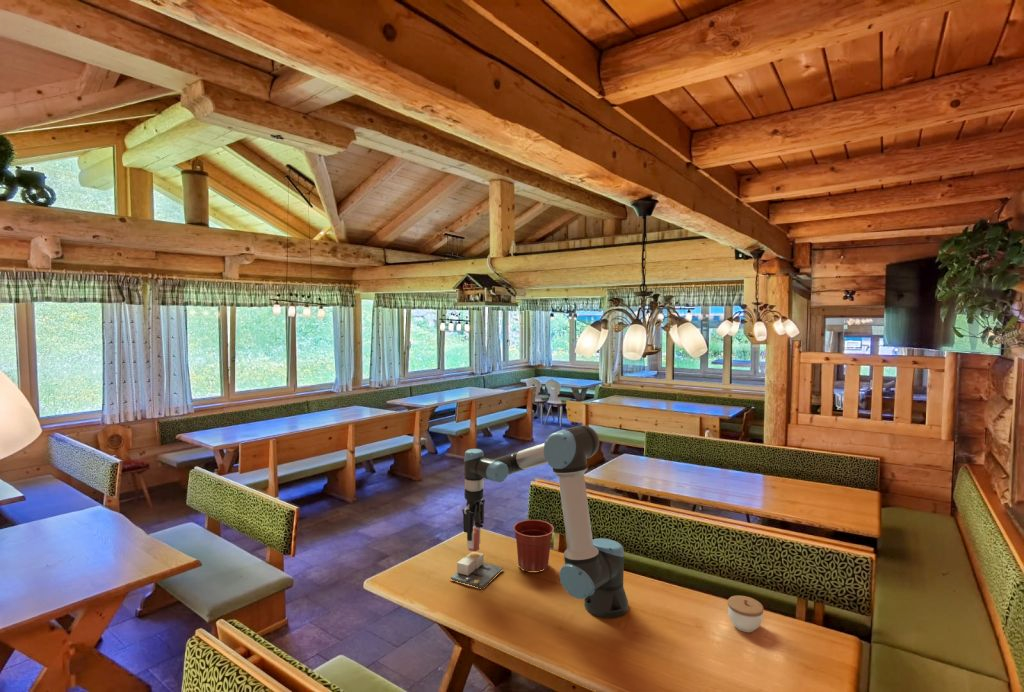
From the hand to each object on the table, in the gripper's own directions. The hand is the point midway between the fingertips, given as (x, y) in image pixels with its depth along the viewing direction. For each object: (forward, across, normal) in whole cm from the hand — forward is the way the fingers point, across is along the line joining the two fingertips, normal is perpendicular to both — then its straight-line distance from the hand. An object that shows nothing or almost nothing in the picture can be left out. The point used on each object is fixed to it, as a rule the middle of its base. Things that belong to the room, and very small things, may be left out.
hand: (473, 545), depth 208 cm
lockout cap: (+2, 0, 0) cm, 2 cm away
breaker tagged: (+8, 0, 0) cm, 8 cm away
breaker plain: (+8, +6, 0) cm, 10 cm away
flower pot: (+10, -13, +20) cm, 26 cm away
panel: (+10, +4, +4) cm, 11 cm away
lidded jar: (+9, -10, +99) cm, 100 cm away
